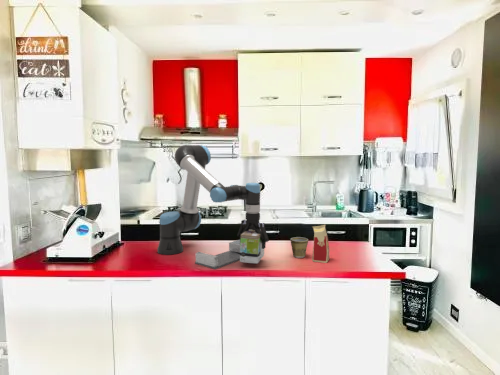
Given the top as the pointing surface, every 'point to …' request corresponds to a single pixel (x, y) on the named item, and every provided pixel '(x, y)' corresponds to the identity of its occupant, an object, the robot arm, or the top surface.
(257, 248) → the tea box
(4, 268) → the top surface
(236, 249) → the free jaw
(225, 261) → the vise
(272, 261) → the top surface
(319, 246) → the paper coffee bag
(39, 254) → the top surface
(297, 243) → the ceramic cup
